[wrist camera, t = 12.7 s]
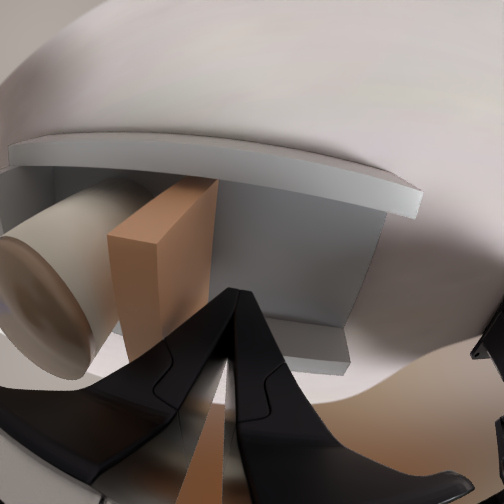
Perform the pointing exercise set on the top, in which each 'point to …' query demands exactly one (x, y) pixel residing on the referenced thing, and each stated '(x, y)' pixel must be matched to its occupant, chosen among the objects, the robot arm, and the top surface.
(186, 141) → the grey tray
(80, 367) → the cream brown-topped cylinder
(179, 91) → the top surface
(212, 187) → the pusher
